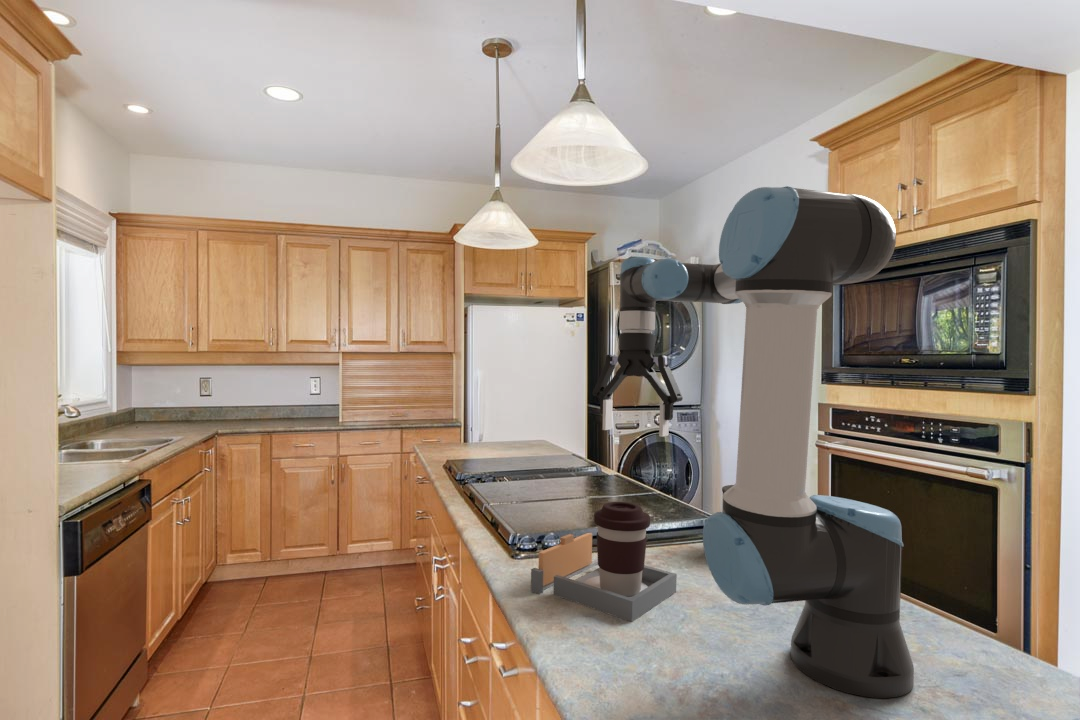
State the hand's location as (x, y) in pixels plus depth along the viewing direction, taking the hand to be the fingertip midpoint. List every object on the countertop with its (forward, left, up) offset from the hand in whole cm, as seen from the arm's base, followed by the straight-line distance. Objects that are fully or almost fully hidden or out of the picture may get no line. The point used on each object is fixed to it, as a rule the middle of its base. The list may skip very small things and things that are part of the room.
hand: (634, 432), depth 123 cm
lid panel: (+4, +18, -26) cm, 32 cm away
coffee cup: (-8, +18, -26) cm, 33 cm away
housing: (-5, +13, -27) cm, 30 cm away
